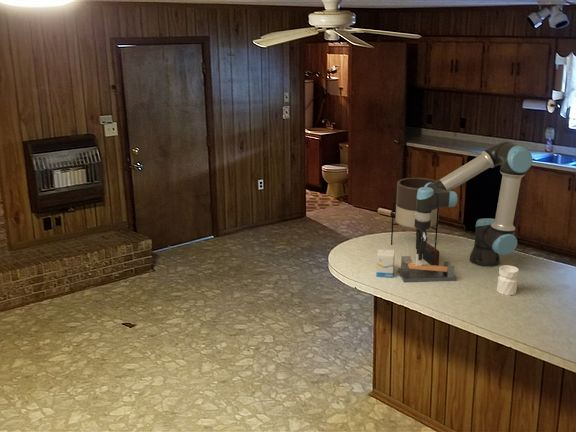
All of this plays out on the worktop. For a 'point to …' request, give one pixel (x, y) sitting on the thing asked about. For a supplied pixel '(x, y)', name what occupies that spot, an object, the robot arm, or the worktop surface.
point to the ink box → (385, 263)
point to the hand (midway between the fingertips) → (418, 265)
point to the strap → (428, 267)
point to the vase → (507, 279)
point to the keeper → (405, 263)
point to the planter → (411, 204)
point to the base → (428, 274)
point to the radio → (431, 255)
